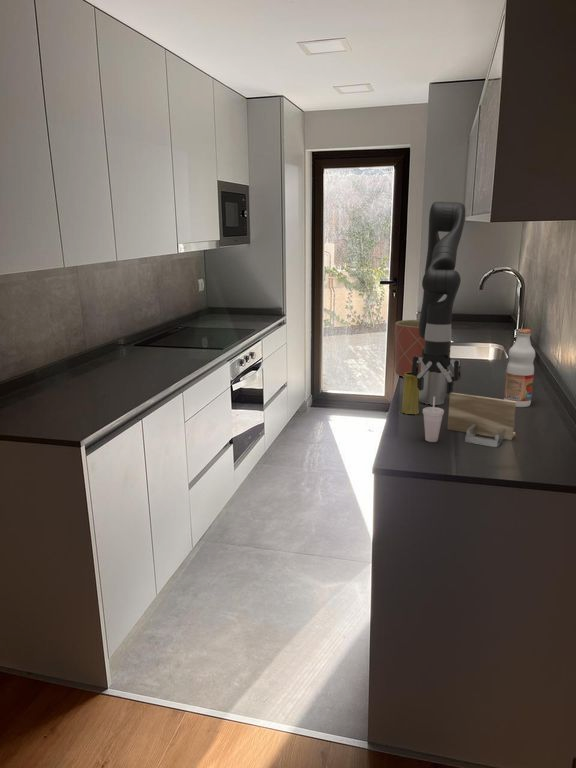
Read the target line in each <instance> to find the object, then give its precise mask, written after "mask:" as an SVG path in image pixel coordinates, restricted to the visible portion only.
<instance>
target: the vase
mask: <svg viewBox="0 0 576 768" xmlns="http://www.w3.org/2000/svg"><path fill="white" fill-rule="evenodd" d="M417 382H418V378H417V377H416V376H413V375H412V372H406V373H405V374H404V378H403V390H402V391H403V392H402V400H401V411H400V412H401V414H403V413H405V414H404V415H407V414H415V415H418V414H419V412H420V411H419V410H420V409H419V405H420V404H419V403H420V402H419V391H420V390H419V388H418V387H417Z"/></svg>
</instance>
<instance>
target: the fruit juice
mask: <svg viewBox="0 0 576 768" xmlns="http://www.w3.org/2000/svg"><path fill="white" fill-rule="evenodd" d="M516 335H517V336H516V340H515V342H514V344H513V345H512V346H511V347H510V348H509V350H508V360H509V361H508V362H507V365H506V373H505V387H504V394H503V395H504V397H503V400H509V401H516V408H528V407H530V406H531V403H532V395H533V384H534V375H535V366H534V360H535V358H536V350H535V348H534V347H533V346H532V342H531V335H532V330H531V329H530V328H518V329H516Z"/></svg>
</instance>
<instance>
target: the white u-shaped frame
mask: <svg viewBox="0 0 576 768" xmlns="http://www.w3.org/2000/svg"><path fill="white" fill-rule="evenodd" d="M476 431H477V424H476V423H473V424H472V425H471V426H470V427H469V428H468V429H467V432H465V433H466V434H465V436H464V437H465V438H464V442H465V443H470V444H476V445H481V446H486V447H490V448H498V447H499V446H500V445H501V443H502V442H503V441H504V440H505V439H504V434H505V428H501V429H500V430H499V431H498V432H497V434H496V435H495V437H494V439H493V438H486V437H482V436H476V435H477V434H476Z"/></svg>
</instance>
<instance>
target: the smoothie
mask: <svg viewBox="0 0 576 768" xmlns="http://www.w3.org/2000/svg"><path fill="white" fill-rule="evenodd" d="M435 406H436V405H435V396H433V405H432V406H426V407H424V408H423V409H422V414H423V424H424V425H423V426H424V436H425V437H424V439H425V441H427V442H428V443H436V442H438V440H439V435H440V430H441V425H442V421H443V416H444V414H445V410H444V409H443V408H440V407H435Z"/></svg>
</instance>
